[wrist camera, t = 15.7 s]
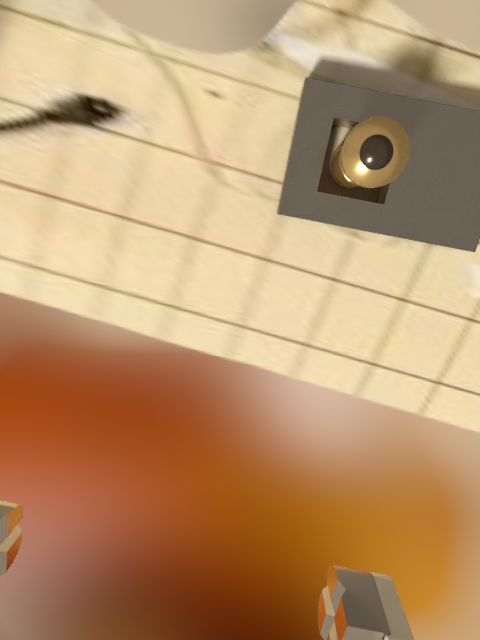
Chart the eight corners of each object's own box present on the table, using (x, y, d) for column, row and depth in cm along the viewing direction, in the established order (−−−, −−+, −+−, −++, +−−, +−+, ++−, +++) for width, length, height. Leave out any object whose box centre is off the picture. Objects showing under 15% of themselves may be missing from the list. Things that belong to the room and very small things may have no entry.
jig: (276, 213, 38) (277, 213, 36) (302, 86, 35) (305, 77, 33) (461, 249, 38) (475, 252, 36) (502, 125, 35) (520, 119, 33)
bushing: (320, 187, 37) (335, 180, 29) (332, 132, 36) (352, 110, 28) (370, 197, 37) (399, 192, 29) (384, 142, 36) (419, 122, 28)
